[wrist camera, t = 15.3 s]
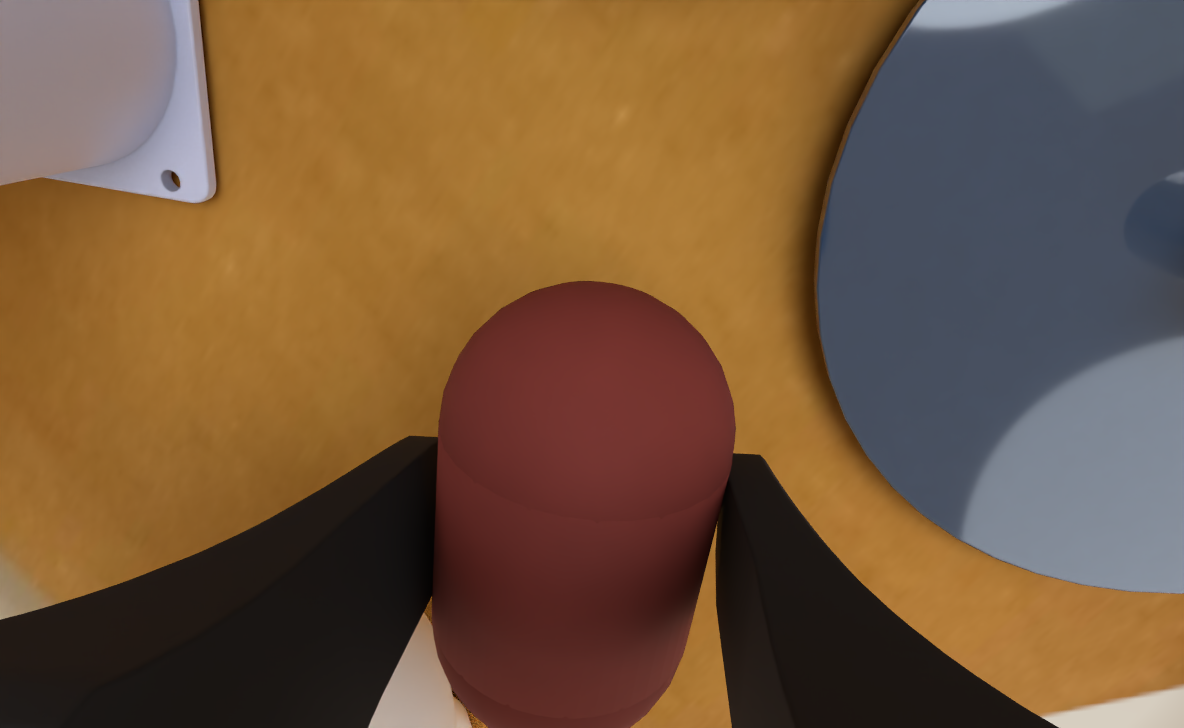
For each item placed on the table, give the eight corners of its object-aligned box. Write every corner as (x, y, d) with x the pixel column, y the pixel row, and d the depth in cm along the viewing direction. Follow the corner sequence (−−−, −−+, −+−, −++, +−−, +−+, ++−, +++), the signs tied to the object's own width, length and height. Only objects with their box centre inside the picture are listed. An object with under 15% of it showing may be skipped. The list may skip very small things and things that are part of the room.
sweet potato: (468, 587, 15) (388, 780, 11) (493, 227, 12) (389, 321, 8) (669, 627, 15) (660, 839, 11) (754, 270, 11) (786, 390, 7)
